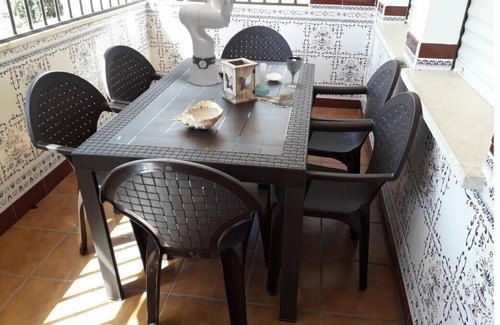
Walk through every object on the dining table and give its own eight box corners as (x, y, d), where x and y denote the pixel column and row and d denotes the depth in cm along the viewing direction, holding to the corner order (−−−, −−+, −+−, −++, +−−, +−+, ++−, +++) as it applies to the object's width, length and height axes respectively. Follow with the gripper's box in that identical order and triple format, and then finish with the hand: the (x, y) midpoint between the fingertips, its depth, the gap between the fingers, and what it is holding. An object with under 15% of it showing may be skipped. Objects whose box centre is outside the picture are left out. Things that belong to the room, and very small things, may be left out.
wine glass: (285, 88, 212) (287, 59, 205) (284, 84, 219) (286, 56, 212) (300, 88, 212) (303, 60, 205) (298, 84, 219) (301, 56, 212)
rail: (246, 97, 197) (246, 85, 194) (255, 94, 202) (255, 82, 199) (284, 108, 185) (285, 95, 182) (292, 104, 190) (293, 92, 187)
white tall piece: (254, 93, 194) (255, 63, 188) (260, 91, 198) (262, 61, 191) (262, 96, 192) (264, 65, 185) (269, 93, 195) (270, 63, 188)
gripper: (233, -8, 157) (233, 29, 164) (235, -13, 175) (235, 21, 182) (217, -8, 157) (217, 29, 164) (221, -13, 175) (221, 20, 182)
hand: (227, 24), depth 173 cm, fingers open, 8 cm apart
